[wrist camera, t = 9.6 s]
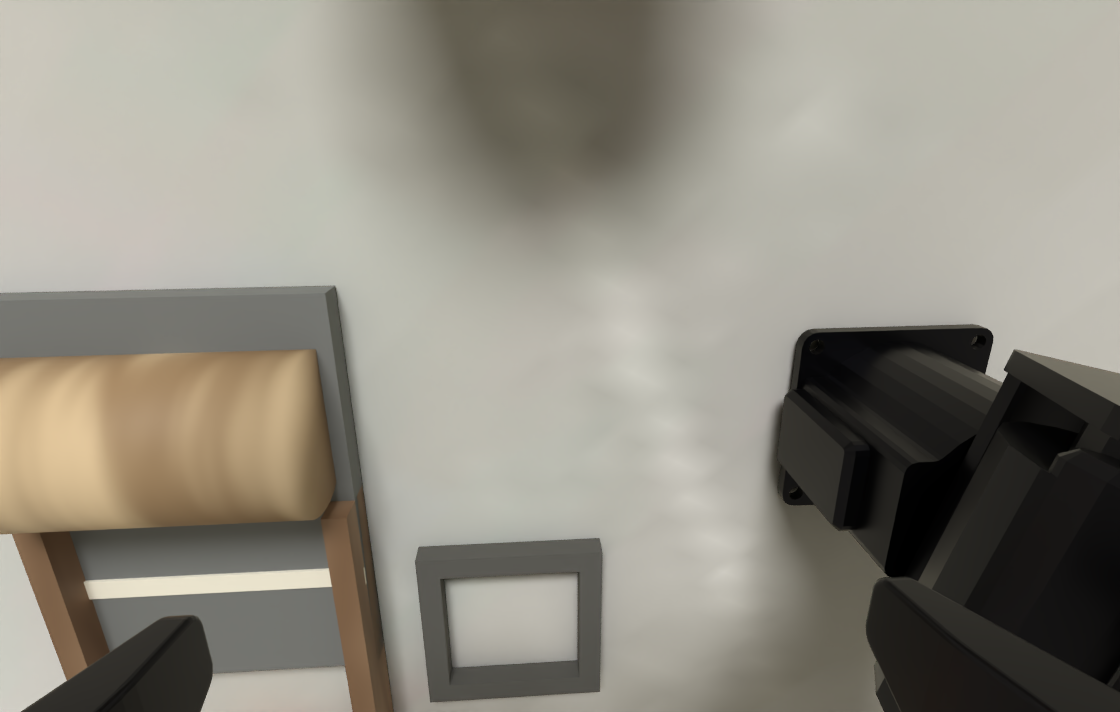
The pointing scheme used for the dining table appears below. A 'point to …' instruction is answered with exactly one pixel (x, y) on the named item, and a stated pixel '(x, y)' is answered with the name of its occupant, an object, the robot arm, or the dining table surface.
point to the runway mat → (223, 549)
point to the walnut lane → (366, 669)
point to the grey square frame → (503, 562)
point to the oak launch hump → (162, 440)
